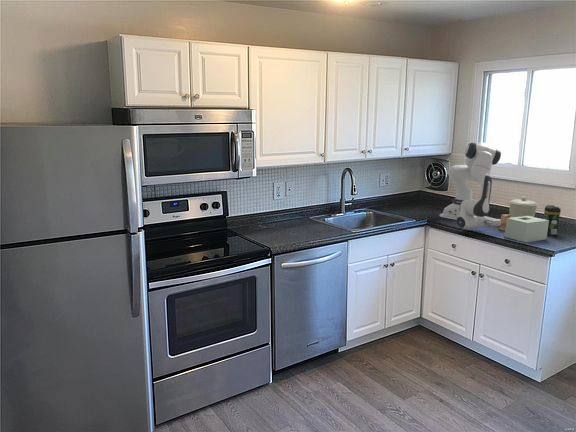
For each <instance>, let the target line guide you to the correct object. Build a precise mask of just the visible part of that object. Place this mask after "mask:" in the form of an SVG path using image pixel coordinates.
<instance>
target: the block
mask: <svg viewBox="0 0 576 432" xmlns="http://www.w3.org/2000/svg"><path fill="white" fill-rule="evenodd" d="M507 218H511V215H509V214H504V213H503V214H501V216H500V219H501V225H500V226H499V229H498V230H500V231H504V232H505V228H506V220H507Z"/></svg>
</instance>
